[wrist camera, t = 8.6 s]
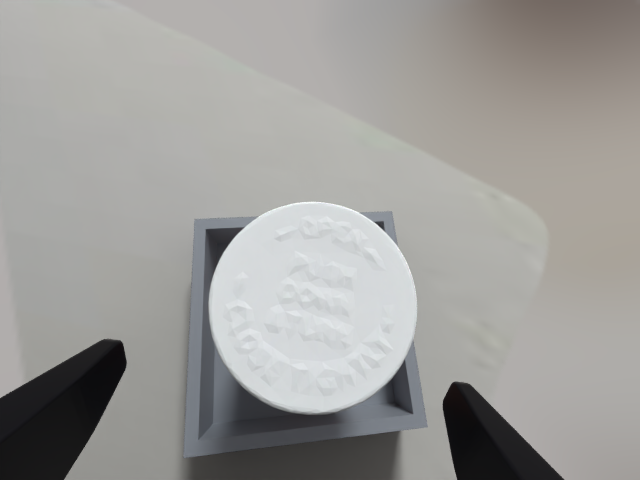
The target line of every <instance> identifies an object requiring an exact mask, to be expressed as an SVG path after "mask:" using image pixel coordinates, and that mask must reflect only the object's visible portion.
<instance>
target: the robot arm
mask: <svg viewBox="0 0 640 480" xmlns="http://www.w3.org/2000/svg"><path fill="white" fill-rule="evenodd" d="M126 364H127V361H126V356H125V351H124V346H123V343H122V342H121V341H120V340H113V339H104V340H101V341H99V342H97V343H96V344H94V345H92V346H90V347H89V348H87V349H85V350H83V351H82V352H80V353H78V354H76V355H75V356H73V357H71V358H69V359H68V360H66V361H64V362H62V363H61V364H59V365H57V366H55V367H54V368H52V369H50V370H48V371H47V372H45V373H43V374H41V375H40V376H38V377H36V378H34V379H33V380H31V381H29V382H27V383H26V384H24V385H22V386H20V387H19V388H17V389H15V390H14V391H12V392H10V393H9V394H6V395H5V396H3V397H1V398H0V480H64V479H65V477H66V476H67V474H68V472H69V471H70V469H71V468H72V466H73V464H74V463H75V461H76V460H77V458H78V456H79V455H80V453H81V452H82V450H83V448H84V447H85V445H86V444H87V442H88V440H89V439H90V437H91V435H92V434H93V432H94V430H95V428H96V426H97V425H98V423H99V421H100V419H101V417H102V415H103V413H104V411H105V409H106V407H107V405H108V403H109V401H110V399H111V397H112V395H113V393H114V391H115V389H116V387H117V385H118V383H119V381H120V379H121V377H122V375H123V373H124V371H125V369H126ZM443 412H444V417H445V423H446V428H447V433H448V439H449V444H450V449H451V454H452V460H453V464H454V469H455V473H456V477H457V480H564V479H563V478H562V477H561V476H560V475H559V474H558V473H557V472H556V471H555V470H554V469H553V468H552V467H551V466H550V465H549V464H548V463H547V462H546V461H545V460H544V459H543V458H542V457H541V456H540V455H539V454H538V453H537V452H536V451H535V450H534V449H533V448H532V447H531V445H530V444H529V443H528V442H526V440H524V438H523V437H522V436H521V435H519V433H518V432H517V431H516V430H515V429H514V428H513V427H512V426H511V425H510V424H509V423H508V422H507V421H506V420H505V419H504V418H503V417H502V416H501V415H500V414H499V413H498V412H497V411H496V410H495V409H494V408H493V407H492V406H491V405H490V404H489V403H488V402H487V401H486V400H485V399H484V398H483V397H482V396H481V395H480V394H479V393H478V392H477V391H476V390H475V389H474V388H473V387H472V386H471V385H470V384H468V383H463V382H453V383H452V384H451V386H450V388H449V390H448V392H447V394H446V396H445V398H444V400H443Z"/></svg>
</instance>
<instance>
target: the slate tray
mask: <svg viewBox="0 0 640 480" xmlns="http://www.w3.org/2000/svg"><path fill="white" fill-rule="evenodd" d="M360 214H362V215H364V216H365V217H367V218H368V219H370V220H371V221H373V222H374V223H375V224H377V225H378V226H379V227H380V228H381V229H382V230H383V231H384V232H386V233H387V235H388V236H389V237H390V238H391V239H392V240H393V241H394V243H395V244H396V245H397V239H396V233H395V227H394V221H393V214H392V211H388V212H362V213H360ZM256 218H258V217H235V218H210V219H195V221H194V243H193V264H192V286H191V307H190V328H189V350H188V371H187V392H186V414H185V435H184V457H183V458H188V457H195V456H203V455H211V454H219V453H227V452H235V451H243V450H251V449H259V448H267V447H275V446H282V445H290V444H298V443H306V442H314V441H322V440H330V439H338V438H346V437H354V436H362V435H370V434H377V433H385V432H393V431H401V430H409V429H417V428H425V427H428V426H427V420H426V414H425V408H424V402H423V396H422V389H421V383H420V377H419V371H418V365H417V359H416V353H415V347H414V341H412V344H411V347H410V349H409V351H408V354H407V356H406V358H405V360H404V361H403V363H402V365H401V367H400V368H399V370H398V371H397V373H396V374H395V375H394V377H393V378H392V379H391V380H390V381H389V382H388V383H387V384H386V385H385V386H384V387H383V388H382V389H381V390H380V391H379V392H377V393H376V394H375V395H373V396H372V397H371V398H369V399H368V400H366V401H364V402H363V403H360V404H358V405H356V406H354V407H352V408H350V409H347V410H344V411H340V412H337V413H331V414H324V415H305V414H296V413H290V412H286V411H283V410H280V409H277V408H274V407H272V406H270V405H268V404H266V403H264V402H262V401H260V400H259V399H257V398H256V397H254V396H253V395H251V394H250V393H249V392H248V391H246V390H245V389H244V388H243V387H242V386H241V385H240V384H239V383H238V382H237V381H236V380H235V379H234V378H233V376H232V375H231V374H230V373H229V371H228V370H227V368H226V367H225V365H224V364H223V362H222V360H221V358H220V356H219V354H218V352H217V349H216V347H215V344H214V341H213V338H212V334H211V329H210V323H209V312H208V302H209V292H210V286H211V282H212V278H213V275H214V272H215V269H216V267H217V265H218V262H219V260H220V258H221V256H222V254H223V253H224V251H225V250H226V248H227V247H228V245H229V244H230V243H231V241H232V240H233V239H234V238H235V236H236V235H237V234H238V233H239V232H240V231H241V230H242V229H244V228H245V227H246V226H247V225H248V224H249V223H251V222H252V221H253V220H255V219H256ZM397 247H398V245H397Z"/></svg>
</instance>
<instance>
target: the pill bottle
mask: <svg viewBox="0 0 640 480" xmlns="http://www.w3.org/2000/svg"><path fill="white" fill-rule="evenodd" d="M208 312H209V323H210V329H211V334H212V338H213V341H214V344H215V347H216V349H217V352H218V354H219V356H220V358H221V360H222V362H223V364H224V365H225V367H226V368H227V370H228V371H229V373H230V374H231V375H232V376H233V378H234V379H235V380H236V381H237V382H238V383H239V384H240V385H241V386H242V387H243V388H244V389H245V390H246V391H248V392H249V393H250V394H251V395H253V396H254V397H256V398H257V399H259V400H260V401H262V402H264V403H266V404H268V405H270V406H272V407H274V408H277V409H280V410H283V411H286V412H290V413H296V414H305V415H324V414H331V413H337V412H340V411H344V410H347V409H350V408H352V407H354V406H356V405H358V404H360V403H363V402H364V401H366V400H368V399H369V398H371V397H372V396H373V395H375V394H376V393H377V392H379V391H380V390H381V389H382V388H383V387H384V386H385V385H386V384H387V383H388V382H389V381H390V380H391V379H392V378H393V377H394V375H395V374H396V373H397V371H398V370H399V368H400V367H401V365H402V363H403V361H404V360H405V358H406V356H407V354H408V351H409V349H410V347H411V344H412V341H413V337H414V333H415V328H416V323H417V297H416V290H415V285H414V281H413V278H412V275H411V271H410V269H409V266H408V264H407V262H406V260H405V258H404V256H403V254H402V253H401V251H400V250H399V248H398V247H397V245H396V244H395V243H394V241H393V240H392V239H391V238H390V237H389V236H388V235H387V233H386V232H384V231H383V230H382V229H381V228H380V227H379V226H378V225H377V224H375V223H374V222H373V221H371V220H370V219H368V218H367V217H365V216H364V215H362V214H360V213H358V212H356V211H354V210H351V209H349V208H346V207H343V206H340V205H336V204H330V203H323V202H301V203H294V204H289V205H285V206H282V207H279V208H276V209H274V210H271V211H269V212H266V213H265V214H263V215H261V216H259V217H258V218H256V219H255V220H253V221H252V222H251V223H249V224H248V225H247V226H246V227H245V228H244V229H242V230H241V231H240V232H239V233H238V234H237V235H236V236H235V238H234V239H233V240H232V241H231V243H230V244H229V245H228V247H227V248H226V250H225V251H224V253H223V254H222V256H221V258H220V260H219V262H218V265H217V267H216V269H215V272H214V275H213V278H212V282H211V286H210V292H209V302H208Z"/></svg>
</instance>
